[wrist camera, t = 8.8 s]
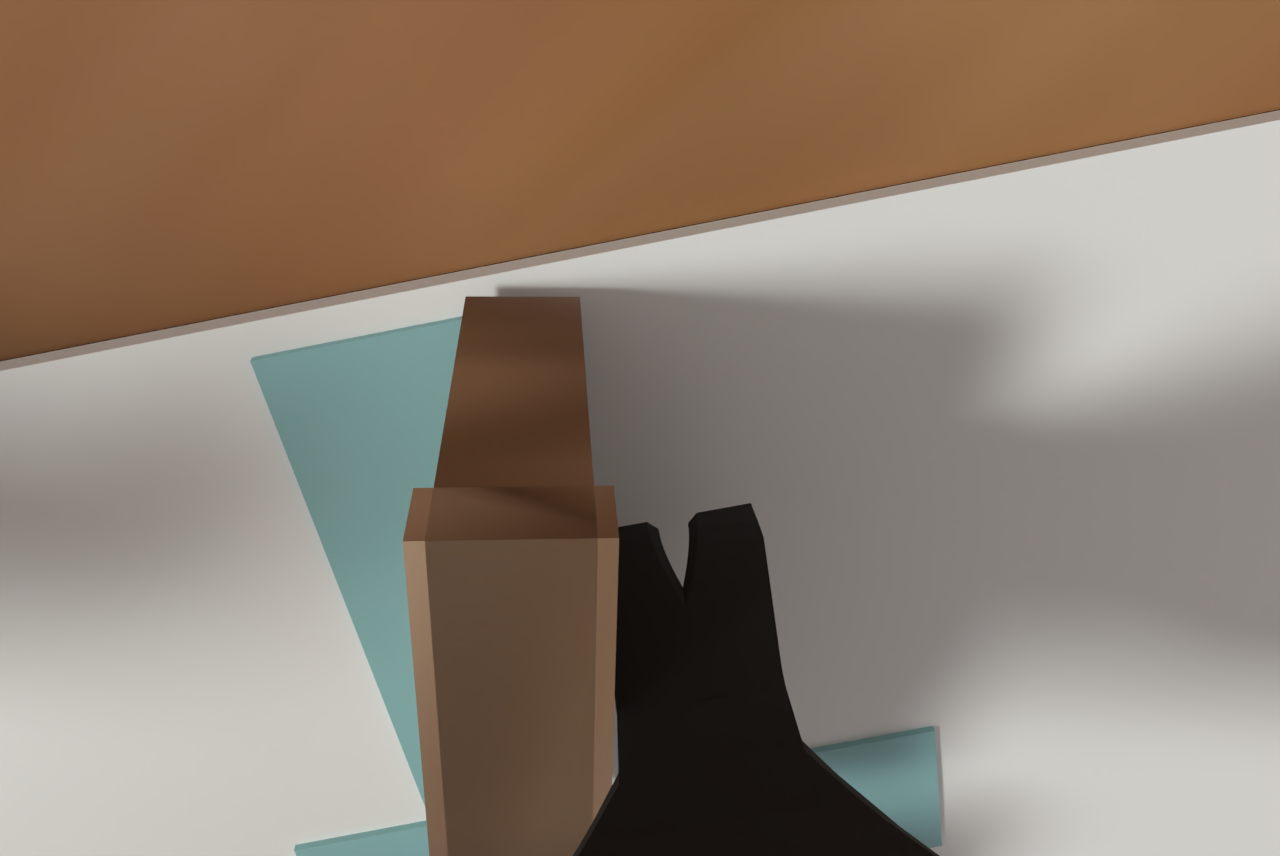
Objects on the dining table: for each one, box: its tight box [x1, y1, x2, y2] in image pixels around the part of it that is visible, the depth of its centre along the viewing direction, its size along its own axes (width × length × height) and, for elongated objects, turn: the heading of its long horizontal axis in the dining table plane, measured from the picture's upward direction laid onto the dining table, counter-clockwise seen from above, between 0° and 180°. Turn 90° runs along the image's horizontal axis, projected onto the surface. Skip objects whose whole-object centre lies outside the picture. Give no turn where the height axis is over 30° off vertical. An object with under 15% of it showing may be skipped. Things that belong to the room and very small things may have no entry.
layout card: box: [0, 110, 1280, 856], centre depth 16 cm, size 18×24×1 cm
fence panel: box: [403, 296, 619, 856], centre depth 11 cm, size 2×7×4 cm, turn 178°
